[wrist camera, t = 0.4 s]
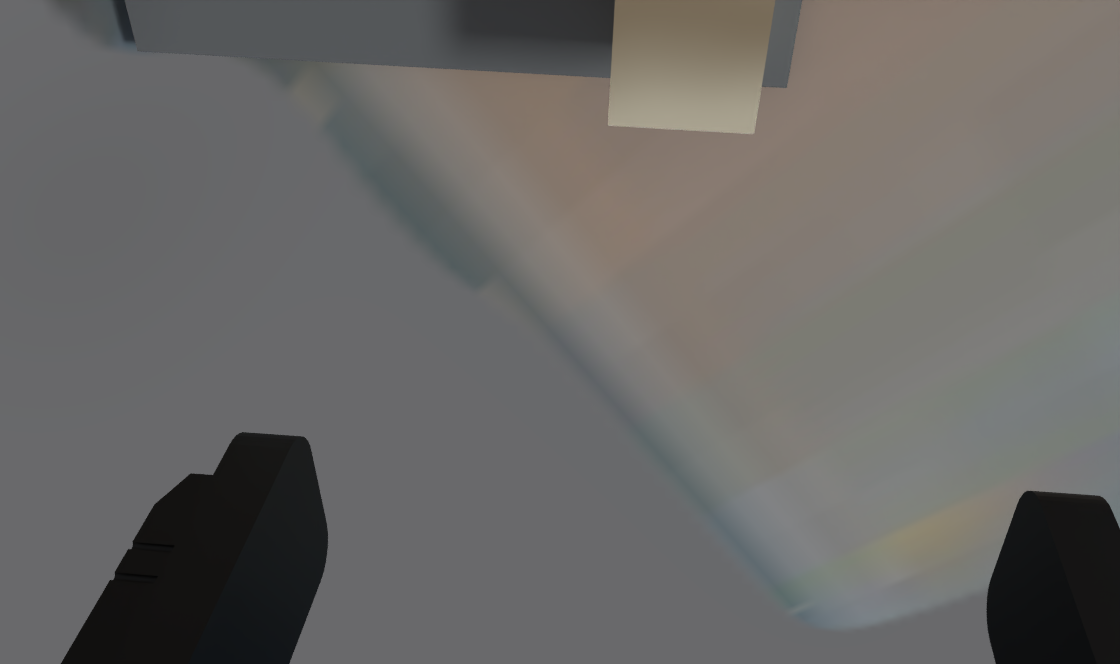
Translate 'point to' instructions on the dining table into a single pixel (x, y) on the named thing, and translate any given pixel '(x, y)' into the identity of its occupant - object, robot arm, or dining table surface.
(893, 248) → the dining table surface
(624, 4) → the maple brick
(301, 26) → the charcoal mat
